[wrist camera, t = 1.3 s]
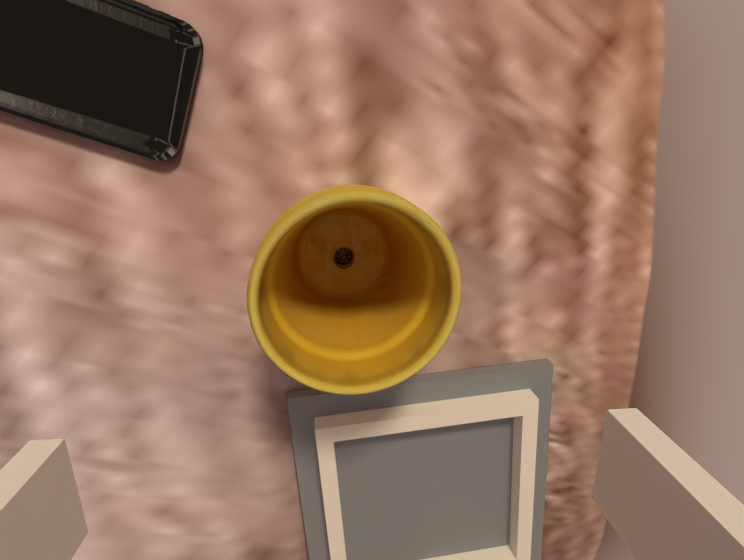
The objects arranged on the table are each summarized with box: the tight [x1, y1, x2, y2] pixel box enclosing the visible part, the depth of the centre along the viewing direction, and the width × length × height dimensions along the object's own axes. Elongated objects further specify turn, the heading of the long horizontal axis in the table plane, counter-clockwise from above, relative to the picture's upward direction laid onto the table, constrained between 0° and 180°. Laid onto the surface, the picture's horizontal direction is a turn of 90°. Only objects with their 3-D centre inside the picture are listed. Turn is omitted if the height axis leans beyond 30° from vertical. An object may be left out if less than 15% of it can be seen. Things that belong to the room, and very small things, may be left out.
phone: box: [0, 0, 203, 160], centre depth 25 cm, size 8×1×15 cm
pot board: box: [286, 359, 553, 560], centre depth 36 cm, size 20×20×2 cm
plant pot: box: [247, 185, 462, 395], centre depth 26 cm, size 10×10×10 cm
